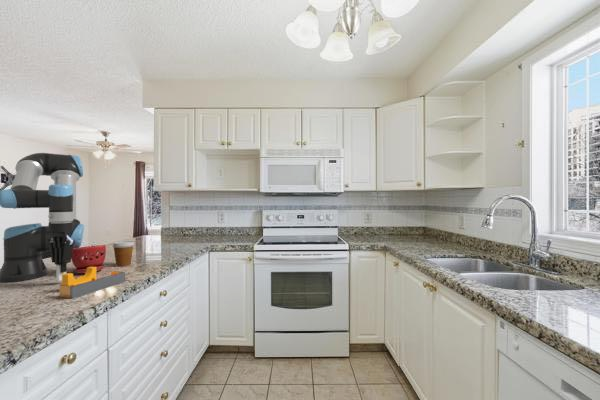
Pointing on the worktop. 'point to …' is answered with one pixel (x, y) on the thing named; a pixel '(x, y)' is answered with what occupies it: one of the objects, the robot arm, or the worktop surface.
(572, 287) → the worktop surface
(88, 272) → the pipe clamp
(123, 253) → the disposable coffee cup
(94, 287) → the keeper bracket
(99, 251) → the plant pot
